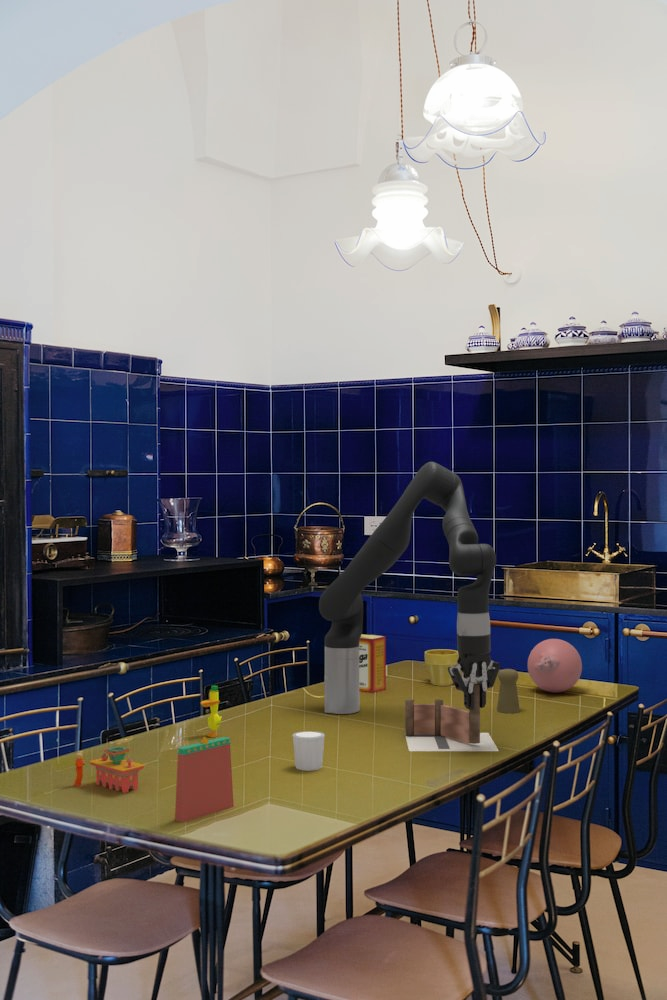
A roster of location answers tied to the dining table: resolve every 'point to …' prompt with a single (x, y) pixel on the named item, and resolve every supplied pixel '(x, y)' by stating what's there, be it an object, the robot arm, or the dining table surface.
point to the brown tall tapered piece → (508, 692)
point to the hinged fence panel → (462, 721)
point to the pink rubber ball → (554, 665)
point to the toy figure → (213, 710)
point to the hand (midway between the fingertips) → (475, 707)
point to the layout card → (448, 743)
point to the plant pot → (440, 665)
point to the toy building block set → (197, 776)
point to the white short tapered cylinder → (308, 750)
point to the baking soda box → (372, 663)
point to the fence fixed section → (423, 718)
